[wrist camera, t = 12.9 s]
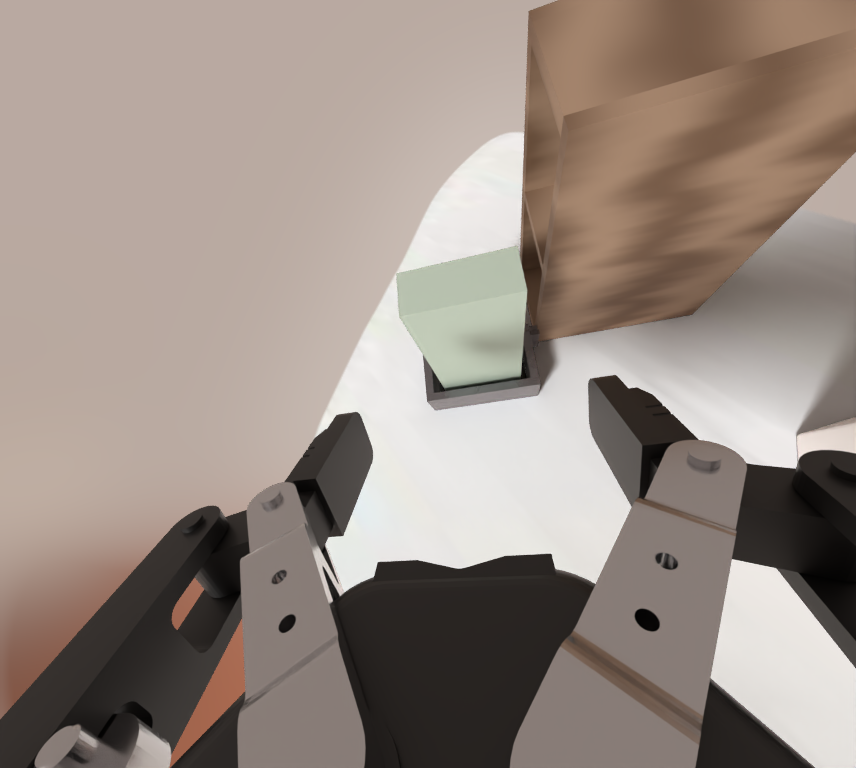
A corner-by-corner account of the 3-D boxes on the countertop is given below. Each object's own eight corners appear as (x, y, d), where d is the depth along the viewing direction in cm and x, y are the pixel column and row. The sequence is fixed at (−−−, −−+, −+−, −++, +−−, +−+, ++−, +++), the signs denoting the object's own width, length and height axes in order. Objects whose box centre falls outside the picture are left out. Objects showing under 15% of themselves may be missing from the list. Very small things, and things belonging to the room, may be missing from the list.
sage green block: (513, 347, 29) (513, 229, 16) (520, 385, 28) (527, 290, 15) (445, 359, 30) (395, 257, 17) (449, 396, 29) (399, 316, 16)
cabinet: (661, 238, 29) (865, -112, 12) (692, 314, 26) (1003, 4, 10) (519, 269, 31) (528, 11, 14) (535, 342, 29) (568, 130, 12)
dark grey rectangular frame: (535, 337, 29) (538, 321, 26) (548, 393, 27) (552, 382, 24) (430, 356, 30) (422, 342, 28) (435, 410, 29) (427, 401, 26)
